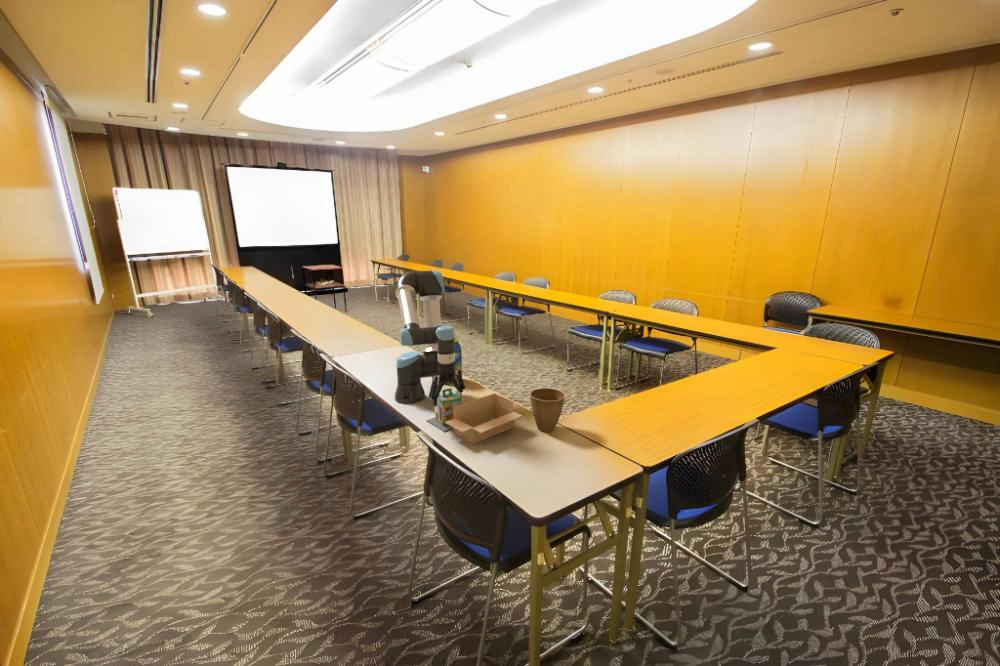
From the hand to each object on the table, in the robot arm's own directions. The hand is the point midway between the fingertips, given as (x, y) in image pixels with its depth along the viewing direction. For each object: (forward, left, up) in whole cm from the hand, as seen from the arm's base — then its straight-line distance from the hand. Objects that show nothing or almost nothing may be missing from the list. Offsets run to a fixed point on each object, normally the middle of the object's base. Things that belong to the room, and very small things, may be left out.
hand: (447, 408), depth 195 cm
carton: (+19, +5, -6) cm, 21 cm away
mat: (0, 0, -6) cm, 6 cm away
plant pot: (+34, +28, -7) cm, 45 cm away
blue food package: (-42, +32, -7) cm, 53 cm away
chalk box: (0, 0, -6) cm, 6 cm away
